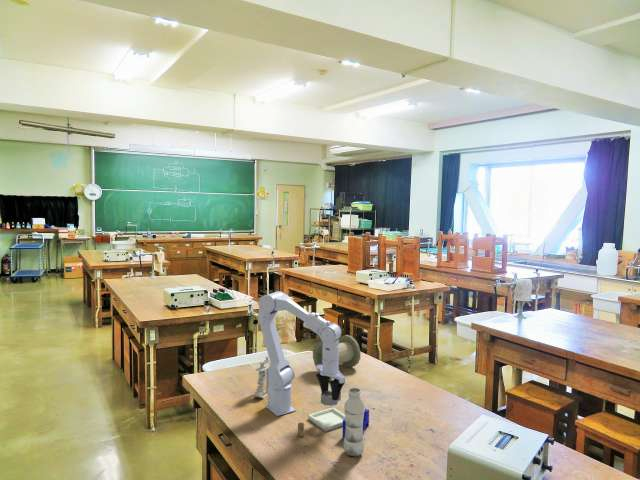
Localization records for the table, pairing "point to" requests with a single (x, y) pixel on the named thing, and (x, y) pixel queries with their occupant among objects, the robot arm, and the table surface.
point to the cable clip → (365, 422)
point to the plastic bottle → (354, 423)
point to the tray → (327, 419)
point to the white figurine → (262, 379)
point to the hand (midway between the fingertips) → (330, 396)
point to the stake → (300, 429)
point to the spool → (340, 352)
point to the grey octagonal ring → (329, 398)
